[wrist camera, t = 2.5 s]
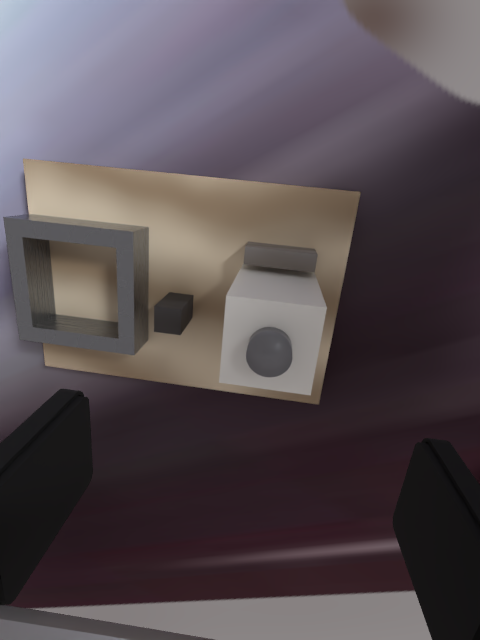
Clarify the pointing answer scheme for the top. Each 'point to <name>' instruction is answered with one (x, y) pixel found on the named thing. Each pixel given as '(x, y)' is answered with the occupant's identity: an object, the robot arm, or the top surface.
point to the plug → (272, 329)
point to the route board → (187, 261)
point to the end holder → (38, 293)
